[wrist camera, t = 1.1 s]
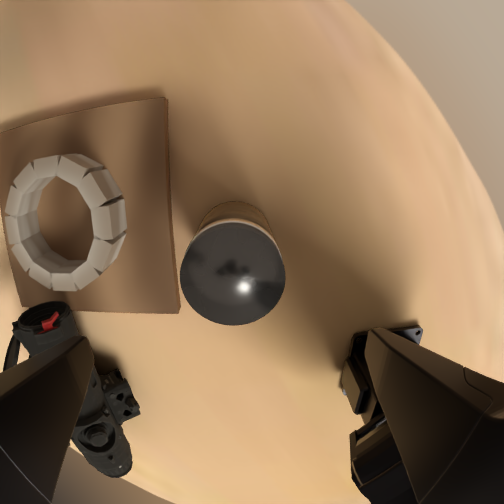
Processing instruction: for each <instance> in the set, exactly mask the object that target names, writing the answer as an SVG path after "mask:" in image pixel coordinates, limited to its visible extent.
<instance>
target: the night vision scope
mask: <svg viewBox="0 0 504 504" xmlns="http://www.w3.org/2000/svg"><path fill="white" fill-rule="evenodd" d="M12 325H13V330H12V331H13V336H12V338H11V341H10V343H9V346H8V349H7V353H6V357H5V362H4V367H3V372H4V371H6V370H8V369H9V368H11V367H13V366H15V365H17V361H18V355H19V349H20V342H21V343H22V344H23V346H24V347H25V348H26V349H27V351H28V352H29V354H30V355H29V358H31V357H33V356H35V355H37V354H39V353H41V352H43V351H45V350H47V349H49V348H51V347H53V346H55V345H57V344H59V343H61V342H63V341H65V340H67V339H69V338H71V337H73V336H76V335H77V336H80V335H79V333H78V330H77V327H76V324H75V321H74V318H73V315H72V312H71V309H70V306H69V305H68V304H66V303H65V302H63V301H49V302H45V303H41V304H38V305H36V306H33V307H31V308H29V309H28V310H26V311H25V312H23V313H22V314H21V316H20V317H19V319H18V321H16V322H13V323H12ZM139 408H140V407H139V405H138V403H137V401H136V400H135V398H134V396H133V394H132V391H131V388H130V386H129V384H128V382H127V380H126V379H125V378H124V381H123V379H122V376H121V373H120V371H119V369H118V370H115V371H112V372H110V373H109V374H108V375H102V376H100V375H98V373H97V371H96V368H95V366H94V365H93V369H92V373H91V376H90V380H89V384H88V388H87V392H86V395H85V399H84V402H83V405H82V408H81V410H80V413H79V416H78V419H77V421H76V424H75V427H74V430H73V433H72V436H71V440H72V441H73V443H74V444H75V445H76V447H77V448H78V449H79V451H80V452H82V454H83V455H84V457H85V458H86V460H87V461H88V462H89V464H91V465H92V466H94V467H95V468H96V469H97V470H98V471H100V472H101V473H103V474H105V475H106V476H109V477H112V478H119V477H122V476H124V475H125V474H127V473H128V472H129V471H130V470H131V468H132V463H133V462H132V454H131V450H130V445H129V442H128V441H127V439H126V437H125V435H124V434H123V429H122V427H121V425H122V423H123V422H124V421H127V420H129V419H131V418H133V417H136V416H138V415H140V411H139ZM68 446H70V443H69V445H68Z"/></svg>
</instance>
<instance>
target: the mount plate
mask: <svg viewBox="0 0 504 504" xmlns="http://www.w3.org/2000/svg"><path fill="white" fill-rule="evenodd" d="M0 208H1V215H2V222H3V228H4V234H5V239H6V245H7V250H8V254H9V259H10V263H11V268H12V272H13V276H14V280H15V284H16V287H17V291H18V295H19V298H20V302H21V305H22V307H33V306H36V305H38V304H41V303H45V302H49V301H63V302H65V303H66V304H68V305H69V306H70V309H71V310H73V311H92V312H116V313H157V314H178V313H179V310H180V307H181V305H180V297H179V288H178V279H177V269H176V259H175V249H174V237H173V224H172V210H171V194H170V175H169V150H168V100H167V99H166V98H164V97H162V98H154V99H146V100H138V101H131V102H125V103H118V104H113V105H107V106H101V107H96V108H91V109H86V110H82V111H77V112H73V113H68V114H64V115H60V116H56V117H52V118H48V119H44V120H41V121H37V122H34V123H30V124H27V125H23V126H20V127H17V128H14V129H11V130H8V131H5V132H2V133H0Z"/></svg>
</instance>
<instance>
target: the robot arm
mask: <svg viewBox="0 0 504 504" xmlns="http://www.w3.org/2000/svg"><path fill="white" fill-rule="evenodd" d="M417 331H418V332H417ZM422 333H423V329H422V328H421V327H420V326H419V325H416V326H409V327H402V328H394V329H384V328H373V329H370V330H369V332H360V333H356V334H354V335H353V337H352V340H351V346H350V351H349V357H347V359H346V360H345V365H344V370H343V375H342V380H341V382H342V385H343V386H342V392H343V394H344V395H347V397H348V400H349V402H350V405H351V407H352V410H353V412H354V413H355V414H356V415H358V414H361V416H362V419H363V421H364V424H365V425H364V426H362V427H361V428H360V429H358V430H355V431H354V432H352V433H351V434H350V456H351V474H352V480H353V482H354V483H355V484H356V486H357V488H358V489H359V490H360V492H361V493H362V494H363V495H364V496H365V497H366V498H368V499H369V501H370V502H371V504H504V383H502V382H499V381H497V380H494V379H492V378H489V377H486V376H484V375H482V374H480V373H477V372H475V371H473V370H471V369H469V368H466V367H464V368H463V366H462V365H460V364H458V363H456V362H454V361H451V360H449V359H447V358H445V357H443V356H441V355H439V354H437V353H434V352H432V351H430V350H428V349H426V348H424V347H422V346H420V345H419V343H420V340H421V336H422ZM358 338H360V339H359V340H358V341H356V340H357V339H358ZM93 365H94V356H93V353H92V350H91V347H90V343H89V340H88V338H87V337H85V336H77V335H76V336H73V337H71V338H69V339H67V340H65V341H63V342H61V343H59V344H57V345H55V346H53V347H51V348H49V349H47V350H45V351H43V352H41V353H39V354H37V355H35V356H33V357H31V358H29V359H27V360H25V361H23V362H21V363H19V364H17V365H15V366H13V367H11V368H9V369H8V370H6V371H4V372H2V373H0V504H51V503H52V499H53V496H54V492H55V488H56V485H57V481H58V477H59V474H60V471H61V467H62V464H63V461H64V457H65V454H66V451H67V448H68V445H69V442H70V439H71V436H72V433H73V430H74V427H75V424H76V421H77V419H78V416H79V413H80V410H81V408H82V405H83V402H84V399H85V395H86V392H87V388H88V384H89V380H90V376H91V373H92V369H93Z"/></svg>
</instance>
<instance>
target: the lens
mask: <svg viewBox="0 0 504 504" xmlns="http://www.w3.org/2000/svg"><path fill="white" fill-rule="evenodd" d="M180 283H181V288H182V291H183V294H184V296H185V298H186V300H187V301H188V303H189V304H190V306H191V307H192V308H193V309H194V310H195V311H196V312H197V313H198V314H200V315H201V316H203V317H204V318H206V319H208V320H210V321H213V322H215V323H219V324H223V325H243V324H248V323H251V322H254V321H256V320H258V319H260V318H262V317H263V316H265V315H266V314H268V313H269V312H270V311H271V310H272V309H273V308H274V307H275V305H276V304H277V303H278V301H279V299H280V298H281V295H282V293H283V290H284V286H285V269H284V265H283V261H282V256H281V253H280V250H279V248H278V246H277V244H276V242H275V240H274V238H273V235H272V232H271V230H270V227H269V225H268V222H267V220H266V218H265V217H264V215H263V214H262V213H261V212H260V211H259V210H258V209H256V208H255V207H253V206H252V205H249V204H247V203H244V202H237V201H232V202H226V203H223V204H220V205H218V206H216V207H215V208H213V209H212V210H211V211H210V212H209V213H208V214H207V215H206V216H205V218H204V219H203V221H202V223H201V225H200V227H199V229H198V231H197V233H196V235H195V237H194V238H193V239H192V241H191V242H190V244H189V246H188V248H187V251H186V253H185V256H184V259H183V261H182V265H181V269H180Z"/></svg>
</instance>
